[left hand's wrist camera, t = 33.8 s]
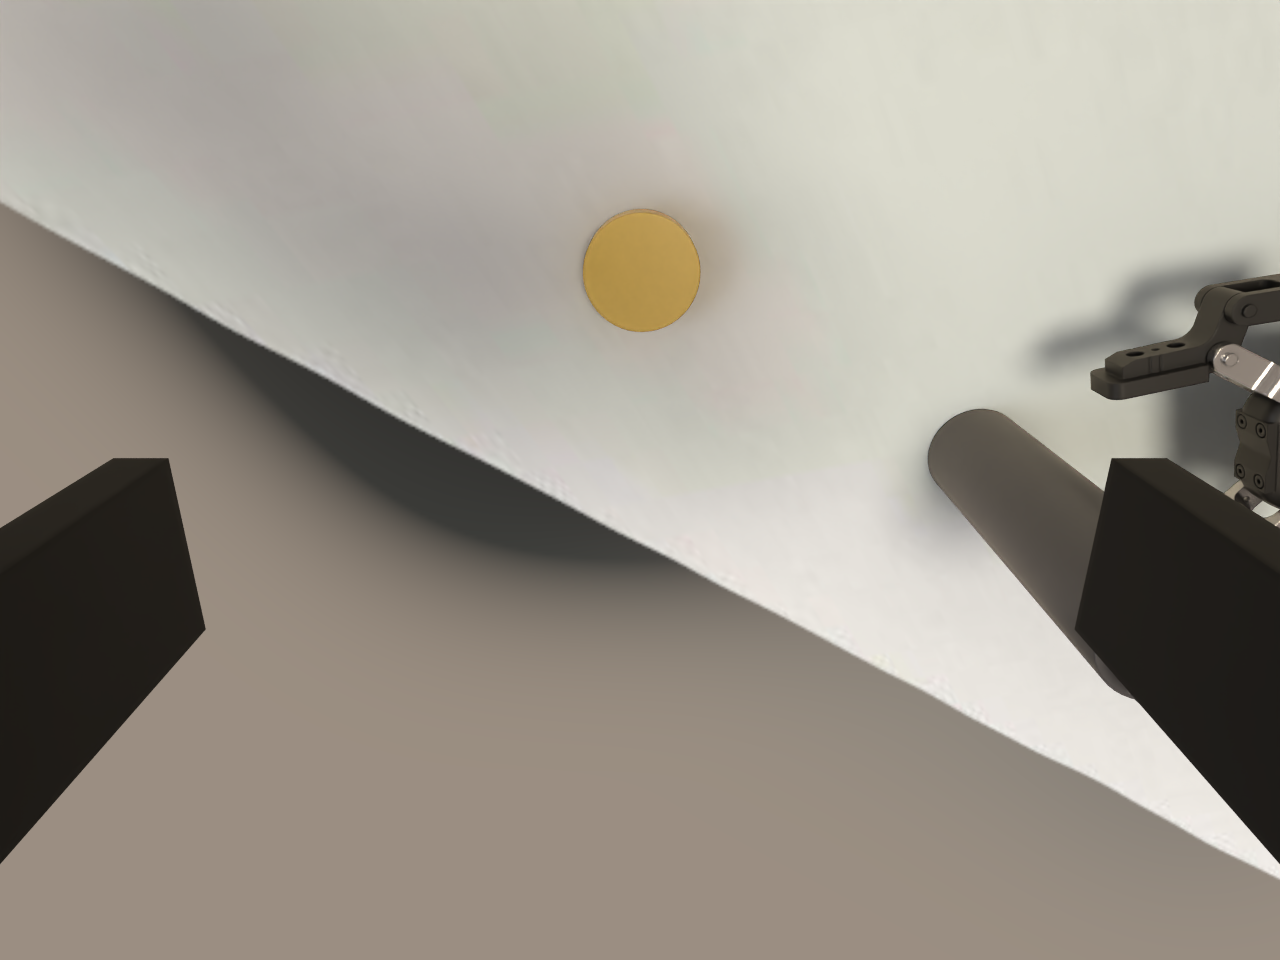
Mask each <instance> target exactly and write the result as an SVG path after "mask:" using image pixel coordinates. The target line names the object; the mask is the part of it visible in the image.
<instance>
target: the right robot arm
mask: <svg viewBox="0 0 1280 960" xmlns="http://www.w3.org/2000/svg"><path fill="white" fill-rule="evenodd" d="M1194 305H1195V308H1196V310H1197V311H1198V314H1197V317H1196V320H1195V323H1194V325H1193V327H1192V328H1191V330H1190V331H1189V332H1188V333H1187V334H1186V335H1184V336H1183V337H1181V338H1179V339H1175V340H1170V341H1166V342H1161V343H1156V344H1152V345H1147V346H1143V347H1138V348H1133V349H1128V350H1124V351H1119V352H1116V353H1115V354H1113V355H1111V356H1110V357H1108V358H1106V359H1105V368H1100V369H1096V370H1093V371H1091V373H1090V375H1091V390H1093V391H1095V392H1097V393H1098V394H1100V395H1102V396H1104V397H1105V398H1107V399H1111V400H1123V399H1129V398H1133V397H1138V396H1143V395H1148V394H1152V393H1157V392H1162V391H1167V390H1171V389H1176V388H1181V387H1186V386H1191V385H1195V384H1200V383H1205V382H1209V373H1214V374H1215V375H1217V376H1219V377H1221V378H1223V379H1225V380H1227V381H1229V382H1231V383H1233V384H1235V385H1237V386H1239V387H1241V388H1243V389H1245V390H1247V391H1249V392H1251V393H1252V394H1251V395H1250V396H1249V398H1248V399H1247V401H1246V402H1245V405H1244V407H1243V409H1238V410H1236V430H1237V433H1238V437H1239V440H1240V445H1239V448H1238V451H1237V454H1236V457H1235V464H1234V476H1235V477H1236V478H1238V479H1240V480H1239V481H1238V482H1237V483H1235V484H1234V485H1233V486H1232V487H1231V488H1230V489H1228V490H1227V491H1226V492H1225V493H1224V494H1225V495H1227V496H1229V497H1230V498H1232V499H1233V500H1235V501H1237V502H1238V503H1240V504H1241V505H1243V506H1245V507H1246V508H1248V509H1250V510H1251V511H1252V510H1253V508H1254V507H1256V506H1257V505H1258V504H1259V503H1260V502H1262V501H1264V502H1266V503H1268V504H1270V505H1272V506H1274V507H1276V508H1278V509H1280V365H1278V364H1275V363H1273V362H1271V361H1269V360H1267V359H1265V358H1263V357H1261V356H1259V355H1257V354H1255V353H1253V352H1251V351H1249V350H1247V349H1245V348H1243V347H1241V344H1242V341H1243V339H1244V336H1245V334H1246V331H1247V329H1248V326H1251V325H1257V324H1264V323H1270V322H1277V321H1280V274H1275V275H1269V276H1263V277H1257V278H1251V279H1244V280H1238V281H1232V282H1226V283H1219V284H1213V285H1208V286H1206V287H1204V288H1202V289H1201V290H1200V291H1199V292H1198V294H1197V295H1196V297H1195V302H1194ZM1264 519H1266V520H1267V521H1269V522H1271V523H1272V524H1274V525H1276V526H1277V527H1279V528H1280V510H1279V511H1278V512H1276V513H1275V514H1274V515H1272V516H1270V517H1266V518H1264Z"/></svg>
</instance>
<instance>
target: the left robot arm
mask: <svg viewBox="0 0 1280 960" xmlns="http://www.w3.org/2000/svg"><path fill="white" fill-rule="evenodd" d="M204 631H205V624H204V620H203V615H202V610H201V606H200V601H199V597H198V592H197V587H196V583H195V578H194V574H193V569H192V564H191V560H190V555H189V551H188V546H187V542H186V537H185V533H184V528H183V523H182V519H181V514H180V509H179V505H178V500H177V496H176V491H175V486H174V482H173V477H172V473H171V468H170V464H169V459H168V458H113V459H111V460H110V461H108V462H107V463H105V464H103V465H102V466H100V467H98V468H97V469H95V470H94V471H92V472H90V473H89V474H87V475H86V476H84V477H82V478H81V479H79V480H77V481H76V482H74V483H73V484H71V485H69V486H68V487H66V488H64V489H63V490H61V491H60V492H58V493H56V494H55V495H53V496H51V497H50V498H48V499H47V500H45V501H43V502H42V503H40V504H39V505H37V506H35V507H34V508H32V509H30V510H29V511H27V512H26V513H24V514H22V515H21V516H19V517H17V518H16V519H14V520H13V521H11V522H9V523H8V524H6V525H4V526H3V527H1V528H0V864H1V862H2V861H3V860H4V859H5V858H6V857H7V856H8V854H9V853H10V852H11V851H12V850H13V849H14V848H15V846H16V845H17V844H18V843H19V842H20V841H21V840H22V838H23V837H24V836H25V835H26V834H27V833H28V832H29V831H30V829H31V828H32V827H33V826H34V825H35V824H36V823H37V821H38V820H39V819H40V818H41V817H42V816H43V815H44V813H45V812H46V811H47V810H48V809H49V808H50V807H51V805H52V804H53V803H54V802H55V801H56V800H57V799H58V797H59V796H60V795H61V794H62V793H63V792H64V790H65V789H66V788H67V787H68V786H69V785H70V784H71V783H72V781H73V780H74V779H75V778H76V777H77V776H78V775H79V773H80V772H81V771H82V770H83V769H84V768H85V767H86V765H87V764H88V763H89V762H90V761H91V760H92V759H93V757H94V756H95V755H96V754H97V753H98V752H99V751H100V749H101V748H102V747H103V746H104V745H105V744H106V743H107V741H108V740H109V739H110V738H111V737H112V736H113V735H114V733H115V732H116V731H117V730H118V729H119V728H120V727H121V725H122V724H123V723H124V722H125V721H126V720H127V719H128V717H129V716H130V715H131V714H132V713H133V712H134V711H135V709H136V708H137V707H138V706H139V705H140V704H141V703H142V701H143V700H144V699H145V698H146V697H147V696H148V695H149V693H150V692H151V691H152V690H153V689H154V688H155V687H156V685H157V684H158V683H159V682H160V681H161V680H162V679H163V677H164V676H165V675H166V674H167V673H168V672H169V670H170V669H171V668H172V667H173V666H174V665H175V664H176V663H177V661H178V660H179V659H180V658H181V657H182V656H183V655H184V653H185V652H186V651H187V650H188V649H189V648H190V647H191V645H192V644H193V643H194V642H195V641H196V640H197V639H198V637H199V636H200V635H201V634H202V633H203V632H204ZM1075 631H1076V632H1077V633H1078V634H1079V635H1080V636H1081V637H1082V639H1083V640H1084V641H1085V642H1086V643H1087V644H1088V645H1089V647H1090V648H1091V649H1092V650H1093V651H1094V652H1095V653H1096V655H1097V656H1098V657H1099V658H1100V659H1101V660H1102V661H1103V663H1104V664H1105V665H1106V666H1107V667H1108V668H1109V669H1110V671H1111V672H1112V673H1113V674H1114V675H1115V676H1116V677H1117V679H1118V680H1119V681H1120V682H1121V683H1122V684H1123V685H1124V687H1125V688H1126V689H1127V690H1128V691H1129V692H1130V693H1131V695H1132V696H1133V697H1134V698H1135V699H1136V700H1137V701H1138V703H1139V704H1140V705H1141V706H1142V707H1143V708H1144V709H1145V711H1146V712H1147V713H1148V714H1149V715H1150V716H1151V717H1152V719H1153V720H1154V721H1155V722H1156V723H1157V724H1158V725H1159V727H1160V728H1161V729H1162V730H1163V731H1164V732H1165V733H1166V735H1167V736H1168V737H1169V738H1170V739H1171V740H1172V741H1173V743H1174V744H1175V745H1176V746H1177V747H1178V748H1179V749H1180V751H1181V752H1182V753H1183V754H1184V755H1185V756H1186V757H1187V759H1188V760H1189V761H1190V762H1191V763H1192V764H1193V765H1194V767H1195V768H1196V769H1197V770H1198V771H1199V772H1200V773H1201V775H1202V776H1203V777H1204V778H1205V779H1206V780H1207V781H1208V783H1209V784H1210V785H1211V786H1212V787H1213V788H1214V789H1215V791H1216V792H1217V793H1218V794H1219V795H1220V796H1221V797H1222V799H1223V800H1224V801H1225V802H1226V803H1227V804H1228V805H1229V807H1230V808H1231V809H1232V810H1233V811H1234V812H1235V813H1236V815H1237V816H1238V817H1239V818H1240V819H1241V820H1242V821H1243V823H1244V824H1245V825H1246V826H1247V827H1248V828H1249V829H1250V831H1251V832H1252V833H1253V834H1254V835H1255V836H1256V837H1257V839H1258V840H1259V841H1260V842H1261V843H1262V844H1263V845H1264V847H1265V848H1266V849H1267V850H1268V851H1269V852H1270V853H1271V854H1272V856H1273V857H1274V858H1275V859H1276V860H1277V861H1278V862H1279V864H1280V528H1279V527H1277V526H1276V525H1274V524H1272V523H1271V522H1269V521H1267V520H1266V519H1264V518H1263V517H1261V516H1259V515H1258V514H1256V513H1254V512H1253V511H1251V510H1250V509H1248V508H1246V507H1245V506H1243V505H1241V504H1240V503H1238V502H1237V501H1235V500H1233V499H1232V498H1230V497H1229V496H1227V495H1225V494H1224V493H1222V492H1220V491H1219V490H1217V489H1216V488H1214V487H1212V486H1211V485H1209V484H1207V483H1206V482H1204V481H1203V480H1201V479H1199V478H1198V477H1196V476H1195V475H1193V474H1191V473H1190V472H1188V471H1186V470H1185V469H1183V468H1182V467H1180V466H1178V465H1177V464H1175V463H1173V462H1172V461H1170V460H1169V459H1167V458H1112V459H1111V464H1110V468H1109V473H1108V477H1107V482H1106V486H1105V491H1104V496H1103V500H1102V505H1101V509H1100V514H1099V519H1098V523H1097V528H1096V532H1095V537H1094V542H1093V546H1092V551H1091V555H1090V560H1089V564H1088V569H1087V574H1086V578H1085V583H1084V587H1083V592H1082V597H1081V601H1080V606H1079V610H1078V615H1077V620H1076V624H1075Z"/></svg>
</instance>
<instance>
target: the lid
mask: <svg viewBox="0 0 1280 960" xmlns="http://www.w3.org/2000/svg"><path fill="white" fill-rule="evenodd" d="M583 280H584V285H585V289H586V292H587V295H588V298H589V299H590V301H591V303H592V305H593V306H594V308H595V309H596V310H597V311H598V313H599V314H600V315H601V316H602V317H604V318H605V319H606V320H607V321H609V322H610V323H612V324H613V325H615V326H618V327H620V328H622V329H626V330H629V331H635V332H647V331H654V330H658V329H661V328H663V327H666V326H668V325H670V324H672V323H673V322H674V321H676V320H677V319H679V318H680V317H681V316H682V315H683V314H684V313H685V312H686V310H687V309H688V308H689V307H690V305H691V303H692V302H693V300H694V298H695V296H696V293H697V290H698V287H699V282H700V262H699V257H698V254H697V251H696V248H695V246H694V244H693V242H692V240H691V238H690V236H689V235H688V233H687V232H686V231H685V229H684V228H683V227H682V226H681V225H680V224H679V223H678V222H677V221H675V220H674V219H672V218H671V217H669V216H667V215H665V214H663V213H661V212H658V211H654V210H648V209H635V210H629V211H625V212H623V213H620V214H618V215H616V216H614V217H612V218H611V219H609V220H608V221H607V222H605V223H604V224H603V225H602V226H601V227H600V228H599V230H598V231H597V232H596V234H595V235H594V237H593V239H592V240H591V242H590V245H589V247H588V249H587V252H586V255H585V259H584V265H583Z"/></svg>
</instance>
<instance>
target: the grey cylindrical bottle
mask: <svg viewBox="0 0 1280 960" xmlns="http://www.w3.org/2000/svg"><path fill="white" fill-rule="evenodd" d="M928 465H929V470H930V473H931V475H932V477H933V479H934V481H935V482H936V483H937V484H938V486H939V487H940V488H941V489H942V490H943V492H944V493H945V494H946V495H947V496H948V497H949V499H950V500H951V501H952V502H953V503H954V505H955V506H956V507H957V508H958V509H959V510H960V512H961V513H962V514H963V515H964V516H965V518H966V519H967V520H968V521H969V522H970V523H971V525H972V526H973V527H974V528H975V529H976V531H977V532H978V533H979V534H980V535H981V536H982V538H983V539H984V540H985V541H986V542H987V544H988V545H989V546H990V547H991V548H992V549H993V551H994V552H995V553H996V554H997V555H998V557H999V558H1000V559H1001V560H1002V561H1003V562H1004V564H1005V565H1006V566H1007V567H1008V568H1009V570H1010V571H1011V572H1012V573H1013V574H1014V575H1015V577H1016V578H1017V579H1018V580H1019V581H1020V583H1021V584H1022V585H1023V586H1024V587H1025V588H1026V590H1027V591H1028V592H1029V593H1030V594H1031V596H1032V597H1033V598H1034V599H1035V600H1036V601H1037V603H1038V604H1039V605H1040V606H1041V607H1042V608H1043V610H1044V611H1045V612H1046V613H1047V614H1048V616H1049V617H1050V618H1051V619H1052V620H1053V621H1054V623H1055V624H1056V625H1057V626H1058V627H1059V629H1060V630H1061V631H1062V632H1063V633H1064V634H1065V636H1066V637H1067V638H1068V639H1069V640H1070V642H1071V643H1072V644H1073V645H1074V646H1075V647H1076V649H1077V650H1078V651H1079V652H1080V653H1081V655H1082V656H1083V657H1084V658H1085V659H1086V660H1087V662H1088V663H1089V664H1090V665H1091V666H1092V668H1093V669H1094V670H1095V671H1096V672H1097V673H1098V675H1099V676H1100V677H1101V678H1102V679H1103V681H1104V682H1105V683H1106V684H1107V685H1108V686H1109V687H1111V688H1112V689H1113V690H1114V691H1116V692H1118V693H1120V694H1121V695H1124V696H1126V697H1129V698H1132V699H1135V698H1134V697H1133V696H1132V695H1131V693H1130V692H1129V691H1128V690H1127V689H1126V688H1125V687H1124V685H1123V684H1122V683H1121V682H1120V681H1119V680H1118V679H1117V677H1116V676H1115V675H1114V674H1113V673H1112V672H1111V671H1110V669H1109V668H1108V667H1107V666H1106V665H1105V664H1104V663H1103V661H1102V660H1101V659H1100V658H1099V657H1098V656H1097V655H1096V653H1095V652H1094V651H1093V650H1092V649H1091V648H1090V647H1089V645H1088V644H1087V643H1086V642H1085V641H1084V640H1083V639H1082V637H1081V636H1080V635H1079V634H1078V633H1077V632H1076V631H1075V624H1076V620H1077V615H1078V610H1079V606H1080V601H1081V597H1082V592H1083V587H1084V583H1085V578H1086V574H1087V569H1088V564H1089V560H1090V555H1091V551H1092V546H1093V542H1094V537H1095V532H1096V528H1097V523H1098V519H1099V514H1100V509H1101V505H1102V500H1103V496H1104V491H1103V490H1101V489H1100V488H1099V487H1097V486H1096V485H1095V484H1094V483H1092V482H1091V481H1090V480H1088V479H1087V478H1086V477H1085V476H1083V475H1082V474H1081V473H1079V472H1078V471H1077V470H1075V469H1074V468H1073V467H1072V466H1070V465H1069V464H1068V463H1066V462H1065V461H1064V460H1063V459H1061V458H1060V457H1059V456H1057V455H1056V454H1055V453H1053V452H1052V451H1051V450H1050V449H1048V448H1047V447H1046V446H1044V445H1043V444H1042V443H1040V442H1039V441H1038V440H1037V439H1035V438H1034V437H1033V436H1031V435H1030V434H1029V433H1028V432H1026V431H1025V430H1024V429H1022V428H1021V427H1020V426H1018V425H1017V424H1016V423H1015V422H1013V421H1012V420H1011V419H1009V418H1008V417H1007V416H1005V415H1003V414H1001V413H999V412H996V411H993V410H986V409H979V410H972V411H967V412H964V413H962V414H959V415H957V416H955V417H954V418H952V419H951V420H949V421H948V422H947V423H946V424H944V425H943V426H942V427H941V429H940V430H939V431H938V432H937V434H936V435H935V437H934V439H933V441H932V443H931V446H930V449H929V454H928ZM1135 700H1136V699H1135ZM1136 701H1137V700H1136ZM1137 702H1138V701H1137Z"/></svg>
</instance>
